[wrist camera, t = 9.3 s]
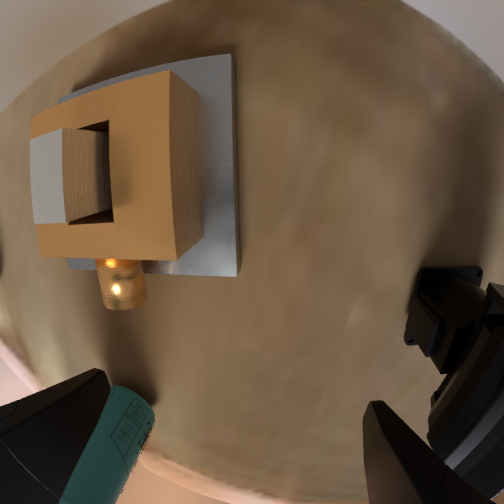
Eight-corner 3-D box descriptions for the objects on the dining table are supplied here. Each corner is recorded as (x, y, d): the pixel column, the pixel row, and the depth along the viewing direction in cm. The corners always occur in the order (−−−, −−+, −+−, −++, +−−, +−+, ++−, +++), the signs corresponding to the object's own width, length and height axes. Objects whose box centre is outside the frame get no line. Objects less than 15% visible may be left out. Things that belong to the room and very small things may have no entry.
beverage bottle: (101, 368, 24) (-2, 503, 5) (156, 381, 23) (61, 553, 4) (118, 409, 26) (43, 533, 7) (169, 422, 25) (104, 570, 6)
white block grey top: (153, 139, 17) (62, 128, 8) (154, 196, 18) (65, 222, 10) (124, 143, 17) (30, 139, 9) (126, 198, 18) (34, 224, 10)
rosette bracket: (235, 61, 15) (213, 20, 9) (241, 282, 19) (223, 328, 13) (70, 100, 17) (18, 92, 11) (82, 274, 21) (37, 302, 15)
